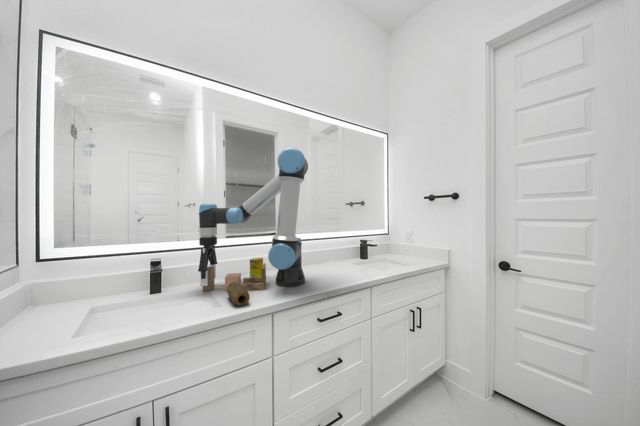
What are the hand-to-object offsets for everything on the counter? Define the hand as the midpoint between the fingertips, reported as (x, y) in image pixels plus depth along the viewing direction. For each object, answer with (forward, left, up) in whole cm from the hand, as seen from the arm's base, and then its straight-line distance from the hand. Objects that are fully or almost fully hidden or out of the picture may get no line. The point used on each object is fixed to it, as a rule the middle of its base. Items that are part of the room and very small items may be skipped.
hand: (208, 281), depth 112 cm
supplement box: (-20, -16, -4) cm, 26 cm away
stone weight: (-16, +19, -4) cm, 25 cm away
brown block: (-6, 0, -4) cm, 7 cm away
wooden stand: (-20, 0, -4) cm, 21 cm away
